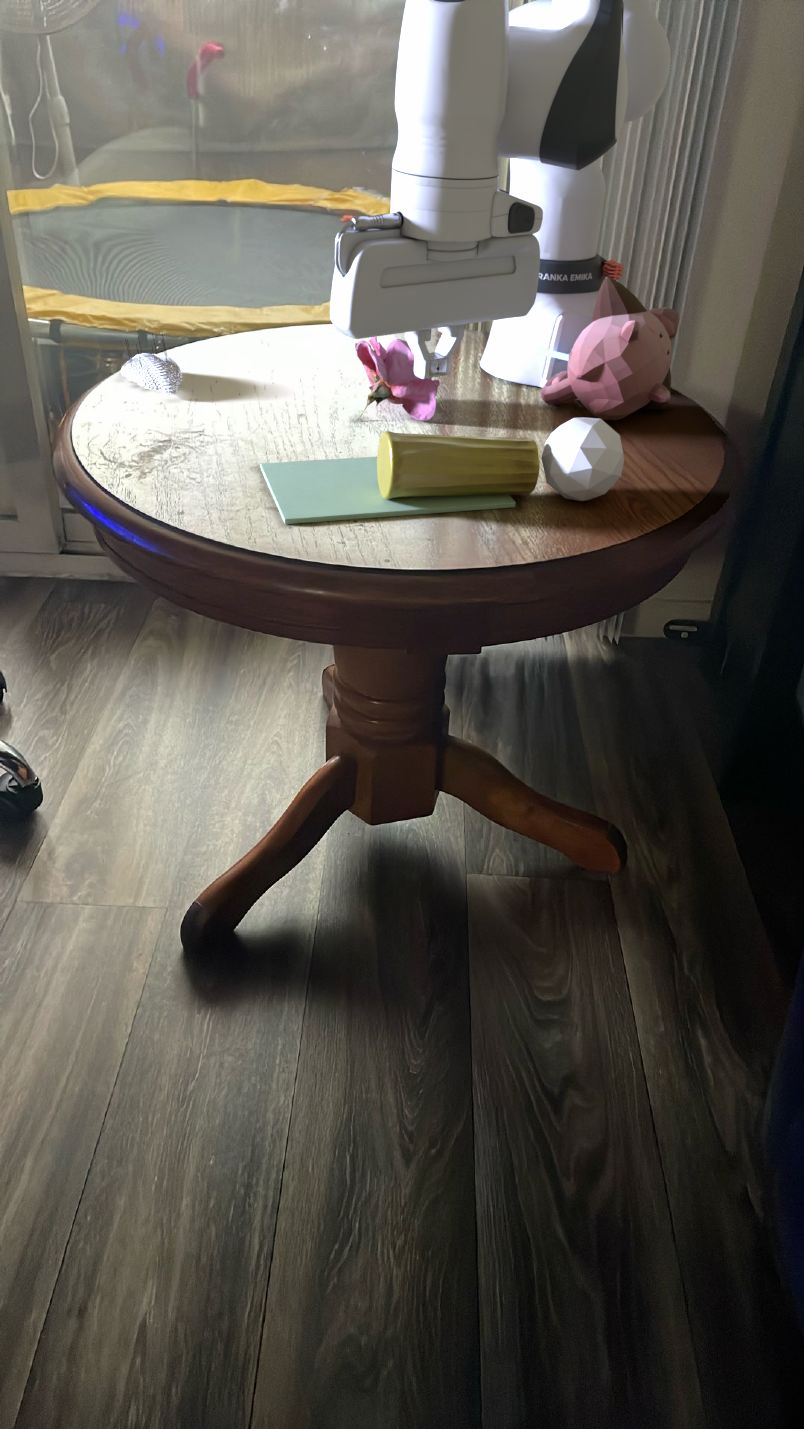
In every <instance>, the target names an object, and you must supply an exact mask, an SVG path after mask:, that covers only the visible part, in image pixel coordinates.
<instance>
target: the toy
mask: <svg viewBox="0 0 804 1429" xmlns="http://www.w3.org/2000/svg"><path fill="white" fill-rule="evenodd" d="M679 324H680V316H679V312H678V310H674V309H672V308H670V307H667V306H664V307H656V308H651V309H648V310H647V309H646V307H645V306H644V305H643V303H642V302H641V301H640V300H639V298H638V297H637V296H636V295H635V294H633V293H632V291H630V290H629V289H628V288H627V287H626V286H624V284H622V283H620V282H619V281H618V280H617V281H616V280H614V279H613V278H608V277H605V280H604V281H603V283H602V285H601V287H600V290H599V292H598V295H597V299H596V303H595V307H594V312H593V319H592V323H591V324H590V325H588V326H587V327H586V328H585V329H584V330H583V331H582V332H581V334H580V335H579V337H578V338H577V340H576V342H575V343H574V345H573V347H572V349H571V351H570V353H569V356H568V368H567V370H566V371H562V372H560V373H558V374H555V375H554V376H553V377H551V378H550V379H548V381H547V382H546V384H545V385H544V387H543V388H542V387H541V389H540V391H539V395H540V398H541V400H542V401H543V402H544V403H545V404H546V405H548V406H558V405H563V404H567V403H570V402H572V401H575V400H577V399H578V401H580V402H581V404H582V405H583V406H584V407H585V408H586V409H587V410H588V411H589V412H590V413H591V414H592V415H593V416H595V417H597V418H599V419H602V420H603V421H618V420H622V419H624V418H626V417H627V416H630V415H631V414H633V413H635V412H637V411H638V410H640V409H646V410H650V411H664V410H666V408H667V407H668V405H669V402H670V401H671V387H672V373H671V364H672V355H673V353H672V352H673V346H672V343H673V341H674V340H675V338H676V335H677V332H678V329H679Z"/></svg>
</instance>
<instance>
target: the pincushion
mask: <svg viewBox="0 0 804 1429" xmlns="http://www.w3.org/2000/svg"><path fill="white" fill-rule="evenodd" d="M151 334H152V339H153V344H154V345H156V342H155V338H154V332H151ZM161 335H162V336H161V337H162V339H161V342H162V346H163V351H164V354H158V353H157V352H158V351H157V346H154V348H153V346H151V350H152V353H149V352H143V351H142V350H140V352H141V353H139V350H138V345H137V343H135V346H136V352H137V354H135V355H134V356H132V354H131V353H132V352H131V349H130V345H129V340H128V339H126V338H125V339H124V341H125V345H126V348H127V354H128V360H127V361H126V362H125V363H123V364H122V365H121V369H120V372H121V376H123V377H125V378H126V379H128V380H129V381H130V382H133V383H136V384H137V385H138V386H140V387H142V388H144V389H145V390H146V389H147V390H152V391H156V392H159V393H160V392H161V393H166V394H168V395H172V394H176V392H177V390H178V388H179V387H180V384H181V382H182V381H183V380H184V377H183V376H184V374H183V373H182V369H181V368H180V366H179V365H178V364H177V362H175V360H173V359H172V358H171V357H169V356H168V354H167V353H168V352H167V349H166V344H165V338H164V334H163V332H161ZM137 338H138V343H139V348H140V349H142V345H141V342H140V337H139V336H137ZM154 350H155V352H156V353H155V352H154Z"/></svg>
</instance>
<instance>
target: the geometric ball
mask: <svg viewBox="0 0 804 1429" xmlns="http://www.w3.org/2000/svg"><path fill="white" fill-rule="evenodd" d="M541 464H542V467H543V472H544V476H545V482H546V484H547V485H548V486H549V487H551V488H552V489H553V490H554V491H555V492H557V493H558V494H559V495H560V496H562V497H563V498H564V499H566V500H573V501H578V502H585V501H590V500H593V499H596V498H599V497H600V496H603V495H606V493H607V492H609V490H611V488H612V487H613V486H614V485H615V484H616V483H617V482H618V480H619V479H620V478H622V474H623V469H624V464H625V456H624V450H623V445H622V440H621V435H620V434H619V433H618V432H617V431H615V429H614V428H612V427H611V426H610V425H609V424H608V423H606V422H605V420H602V419H600V418H598V417H597V418H596V417H573V418H571V419H569V420H568V421H566V422H563V423H561V424H560V425H559V426H558V427H556V429H554V430H553V431H552V432H551V433H550V435H549V436H548V438H547V439H546V441H545V443H544V446H543V450H542V454H541Z"/></svg>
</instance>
